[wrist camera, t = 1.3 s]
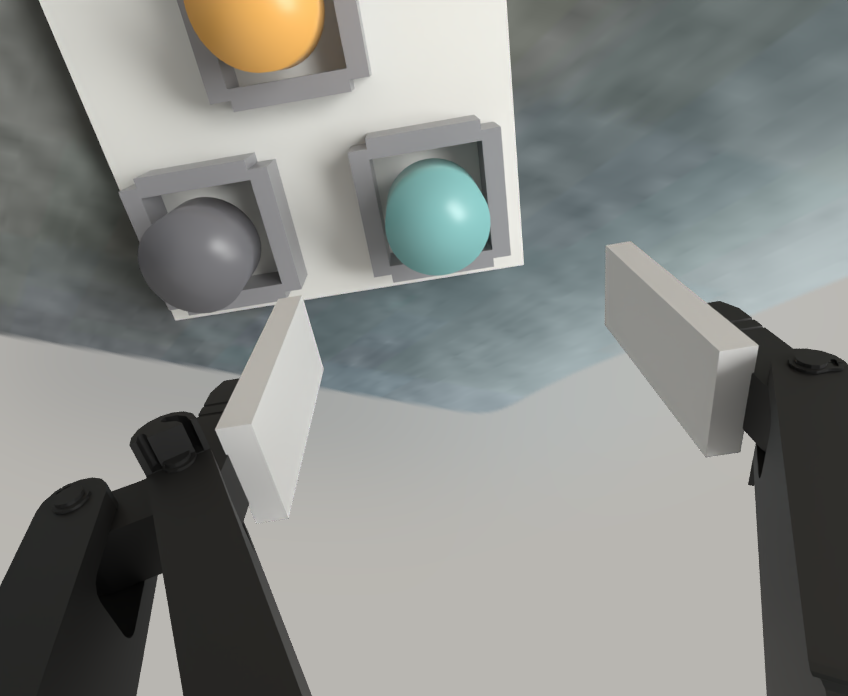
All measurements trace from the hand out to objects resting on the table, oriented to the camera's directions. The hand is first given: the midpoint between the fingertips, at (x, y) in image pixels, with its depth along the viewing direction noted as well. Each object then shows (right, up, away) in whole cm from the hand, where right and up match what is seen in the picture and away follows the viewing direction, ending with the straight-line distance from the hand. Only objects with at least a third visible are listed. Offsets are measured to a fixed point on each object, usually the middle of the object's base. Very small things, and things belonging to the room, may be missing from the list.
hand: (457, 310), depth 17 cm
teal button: (-1, +6, +12) cm, 13 cm away
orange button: (-8, +14, +7) cm, 18 cm away
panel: (-7, +12, +13) cm, 19 cm away
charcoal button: (-12, +4, +12) cm, 18 cm away
